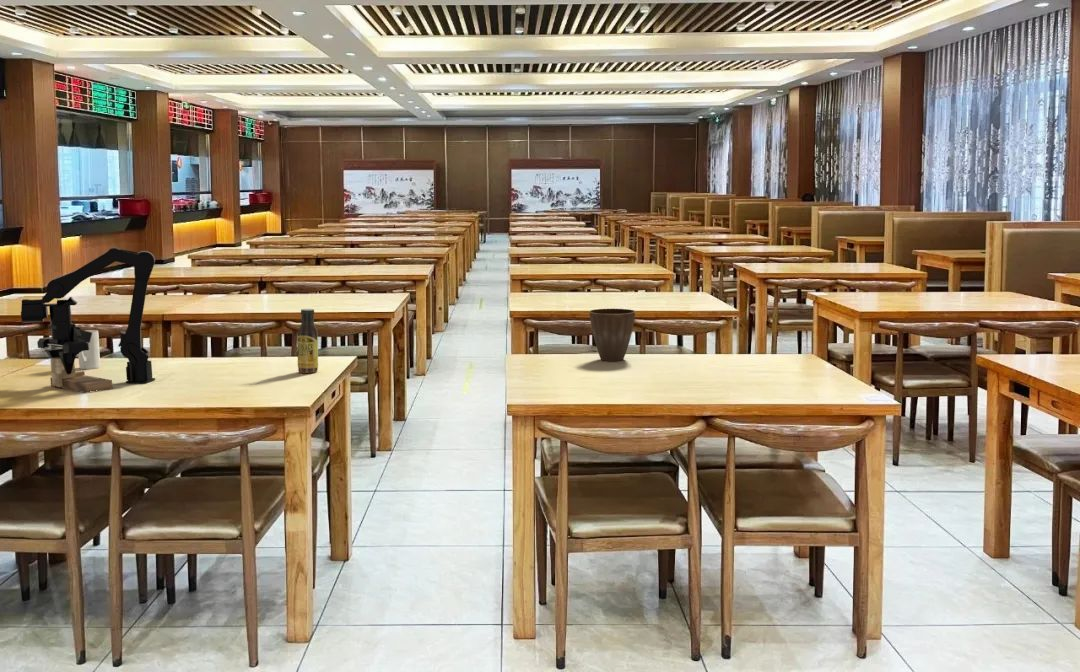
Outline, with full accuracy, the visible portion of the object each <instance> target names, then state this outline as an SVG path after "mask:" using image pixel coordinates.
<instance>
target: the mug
mask: <svg viewBox="0 0 1080 672" xmlns="http://www.w3.org/2000/svg"><path fill="white" fill-rule="evenodd" d="M84 331H88V332H92V336H91V340H90V343H89V350H85V351H82V352H80V353H79V354H78V355H77V356H78V365H79V369H80V370H93V369H99V368H101V359H100V357H101V355H100V353H101V352H100V338H99V337H100V336H99V330H97V329H89V330H87V329H86V330H84ZM87 343H88V342H87Z"/></svg>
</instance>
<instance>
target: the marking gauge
mask: <svg viewBox="0 0 1080 672" xmlns="http://www.w3.org/2000/svg"><path fill="white" fill-rule="evenodd" d="M49 359H50V369H51V373H50V374H51V377H52V386H51V387H55V386H57V387H56V388H60V387H63V383H62V379H66V378H73V377H75V376H80V375H85V374H86V373H85V372H86V371H85V370H82V371H80V370H79V371H76V366H75V365H76V364H75V363H74V364H73V368H72V372H71V374H67V373H66V371H65V368H64V366H63V363H62V360H61V358H60V357H58V358H50V357H49Z"/></svg>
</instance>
